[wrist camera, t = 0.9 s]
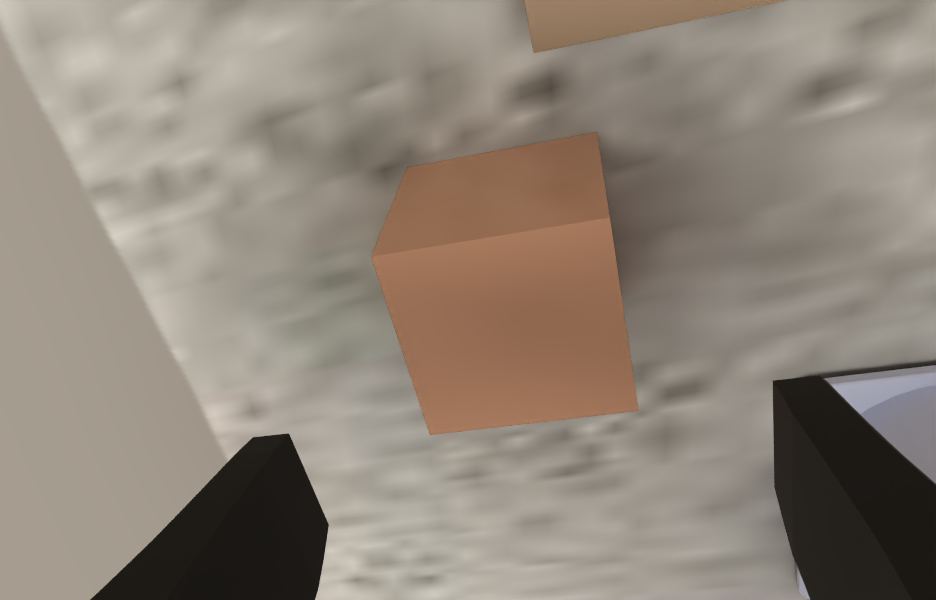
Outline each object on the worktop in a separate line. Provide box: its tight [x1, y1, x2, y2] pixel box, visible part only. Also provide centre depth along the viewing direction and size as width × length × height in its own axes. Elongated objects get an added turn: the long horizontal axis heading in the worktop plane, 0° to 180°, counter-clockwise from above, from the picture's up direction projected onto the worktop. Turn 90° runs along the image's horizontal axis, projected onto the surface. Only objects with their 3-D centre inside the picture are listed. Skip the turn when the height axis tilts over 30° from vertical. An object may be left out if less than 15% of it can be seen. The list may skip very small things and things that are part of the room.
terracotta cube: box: [371, 132, 639, 435], centre depth 19 cm, size 5×5×5 cm
